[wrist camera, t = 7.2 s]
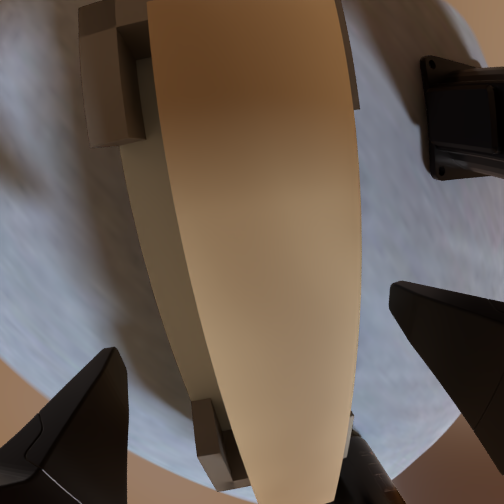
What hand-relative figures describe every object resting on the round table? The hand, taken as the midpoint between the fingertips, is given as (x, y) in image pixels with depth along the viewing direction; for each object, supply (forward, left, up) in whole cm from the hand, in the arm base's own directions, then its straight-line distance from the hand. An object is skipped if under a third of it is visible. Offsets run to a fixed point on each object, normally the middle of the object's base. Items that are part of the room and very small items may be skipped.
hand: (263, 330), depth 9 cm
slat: (0, 0, -4) cm, 4 cm away
